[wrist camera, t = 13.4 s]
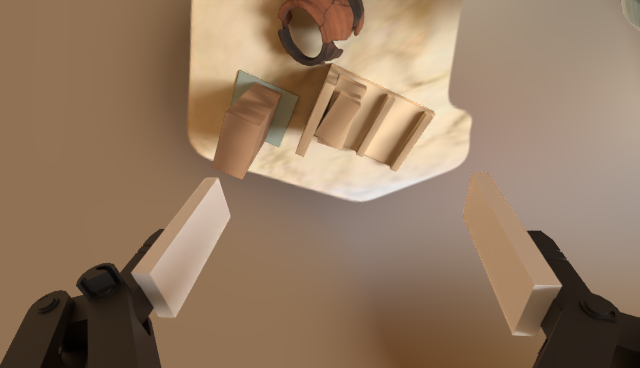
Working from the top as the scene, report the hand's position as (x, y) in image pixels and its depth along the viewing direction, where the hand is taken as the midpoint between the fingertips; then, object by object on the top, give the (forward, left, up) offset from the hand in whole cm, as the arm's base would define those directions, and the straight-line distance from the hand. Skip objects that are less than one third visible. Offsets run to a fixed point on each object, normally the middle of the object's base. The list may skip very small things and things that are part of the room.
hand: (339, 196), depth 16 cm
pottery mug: (+3, -7, -31) cm, 32 cm away
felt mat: (+14, +6, -31) cm, 34 cm away
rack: (-2, +8, -31) cm, 32 cm away
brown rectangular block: (+14, +6, -30) cm, 34 cm away
